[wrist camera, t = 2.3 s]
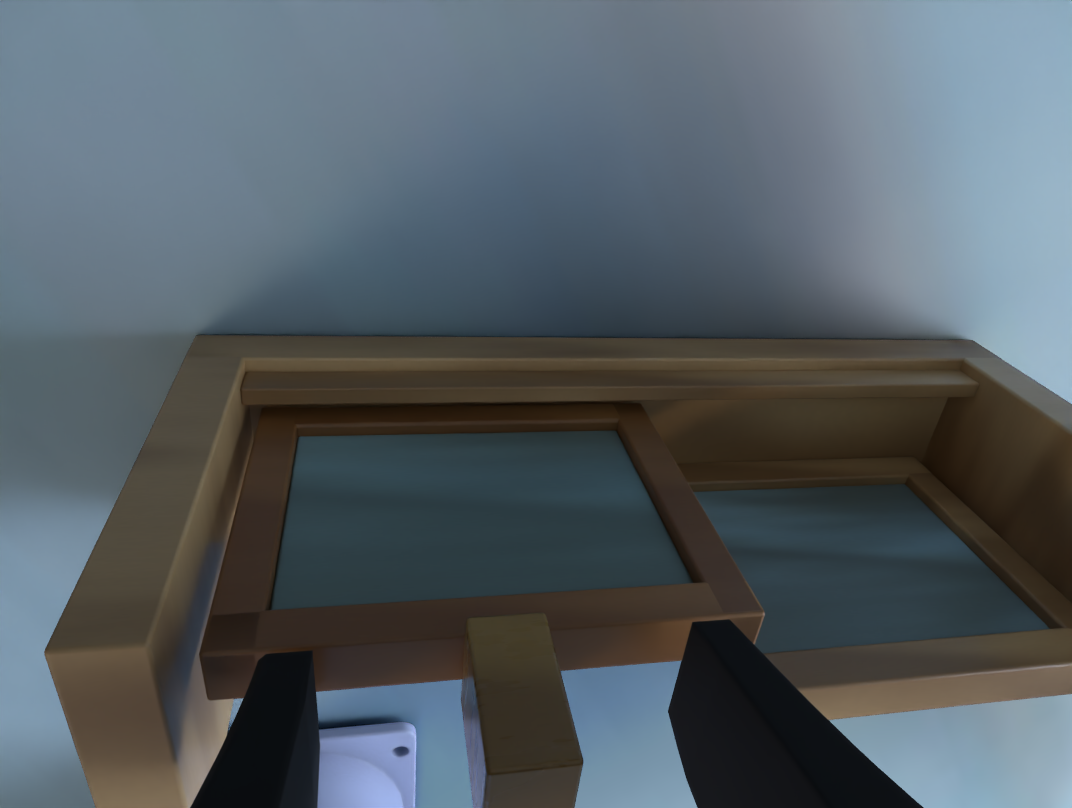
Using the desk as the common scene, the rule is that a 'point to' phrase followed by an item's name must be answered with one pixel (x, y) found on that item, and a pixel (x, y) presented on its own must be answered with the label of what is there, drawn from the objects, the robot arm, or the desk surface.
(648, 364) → the window frame
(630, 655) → the sash
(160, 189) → the desk surface
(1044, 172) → the desk surface
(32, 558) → the desk surface
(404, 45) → the desk surface
